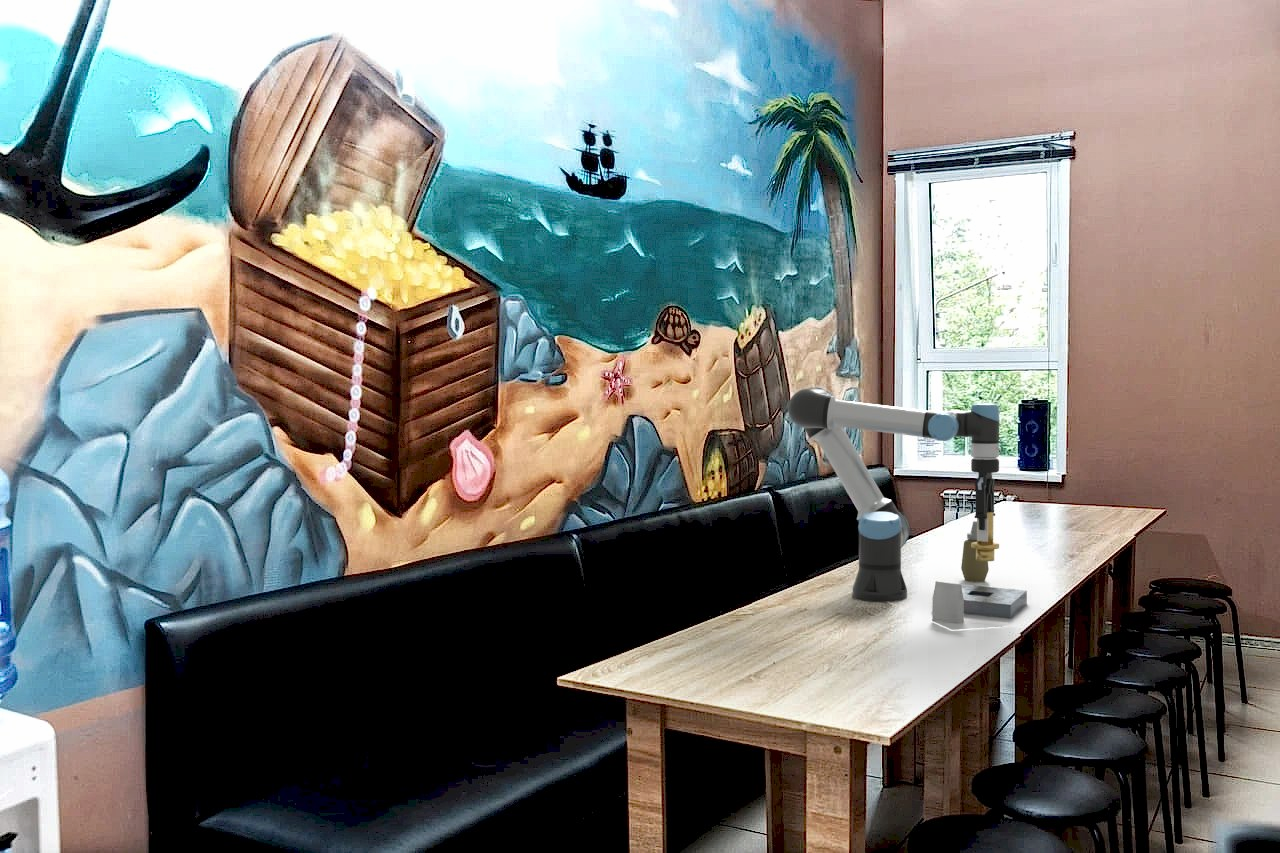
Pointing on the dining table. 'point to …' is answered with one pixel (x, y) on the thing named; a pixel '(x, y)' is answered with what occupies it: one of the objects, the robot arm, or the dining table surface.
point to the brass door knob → (986, 543)
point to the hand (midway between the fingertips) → (984, 539)
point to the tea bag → (948, 602)
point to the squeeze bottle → (973, 559)
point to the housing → (993, 601)
